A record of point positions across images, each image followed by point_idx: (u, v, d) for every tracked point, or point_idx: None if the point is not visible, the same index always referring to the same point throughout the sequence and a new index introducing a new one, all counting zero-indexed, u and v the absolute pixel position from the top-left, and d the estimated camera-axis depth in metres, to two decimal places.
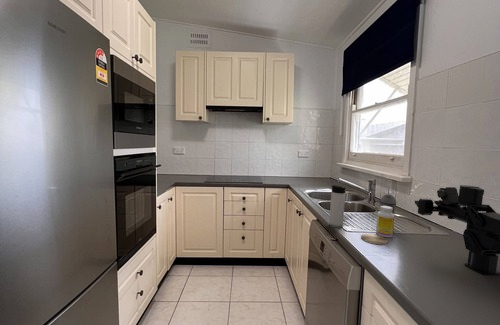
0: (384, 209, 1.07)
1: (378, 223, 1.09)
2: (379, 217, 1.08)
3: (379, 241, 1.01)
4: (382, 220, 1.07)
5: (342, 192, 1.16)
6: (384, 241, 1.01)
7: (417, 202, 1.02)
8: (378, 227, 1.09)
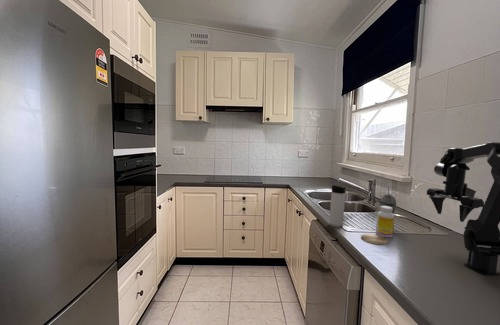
0: (384, 209, 1.07)
1: (378, 223, 1.09)
2: (379, 217, 1.08)
3: (379, 241, 1.01)
4: (382, 220, 1.07)
5: (342, 192, 1.16)
6: (384, 241, 1.01)
7: None
8: (378, 227, 1.09)
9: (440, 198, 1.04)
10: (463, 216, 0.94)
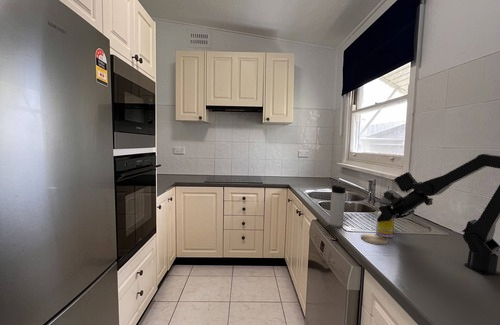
0: None
1: (378, 223, 1.09)
2: None
3: (379, 241, 1.01)
4: None
5: (342, 192, 1.16)
6: (384, 241, 1.01)
7: (380, 218, 1.07)
8: (378, 227, 1.09)
9: None
10: None
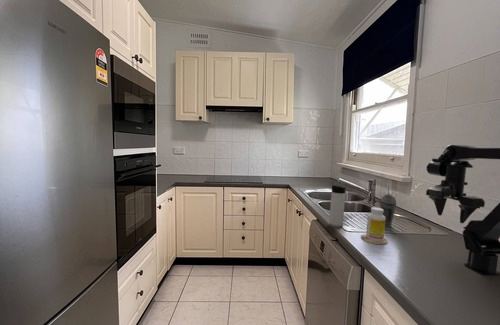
0: (376, 211, 1.01)
1: (370, 226, 1.02)
2: (371, 220, 1.01)
3: (379, 241, 1.01)
4: (375, 223, 1.00)
5: (342, 192, 1.16)
6: (384, 241, 1.01)
7: (464, 217, 0.88)
8: (370, 231, 1.02)
9: None
10: None
